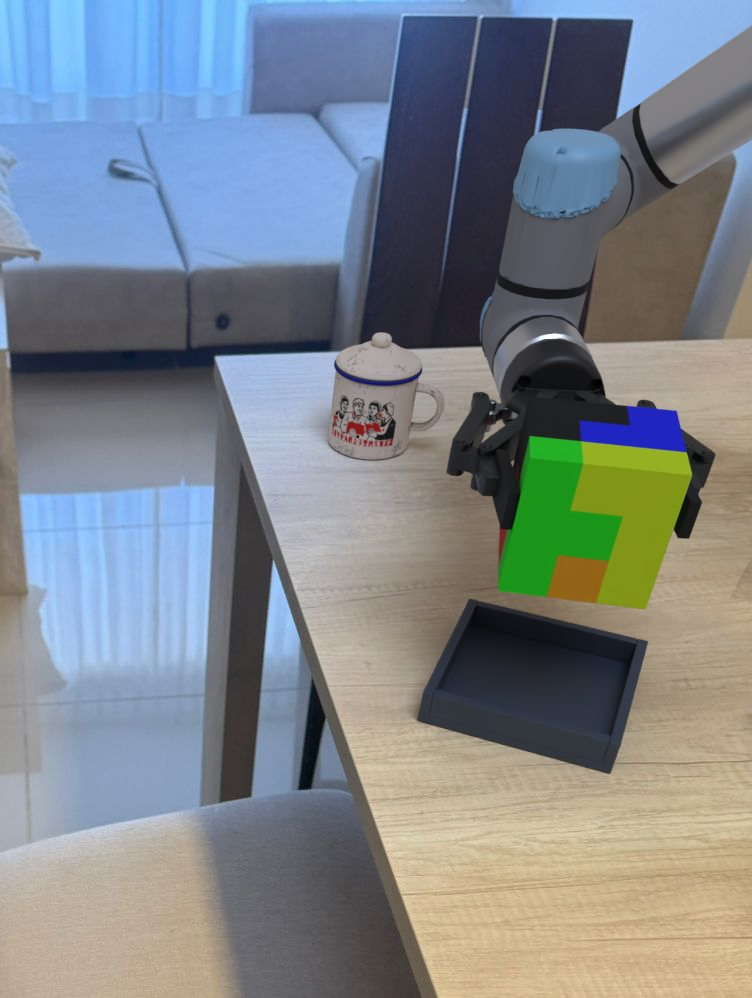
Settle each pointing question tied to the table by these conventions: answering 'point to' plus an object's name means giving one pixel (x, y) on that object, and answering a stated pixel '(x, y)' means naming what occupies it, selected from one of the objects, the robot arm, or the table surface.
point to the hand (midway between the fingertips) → (599, 516)
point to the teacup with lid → (377, 399)
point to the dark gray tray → (535, 684)
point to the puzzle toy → (593, 501)
